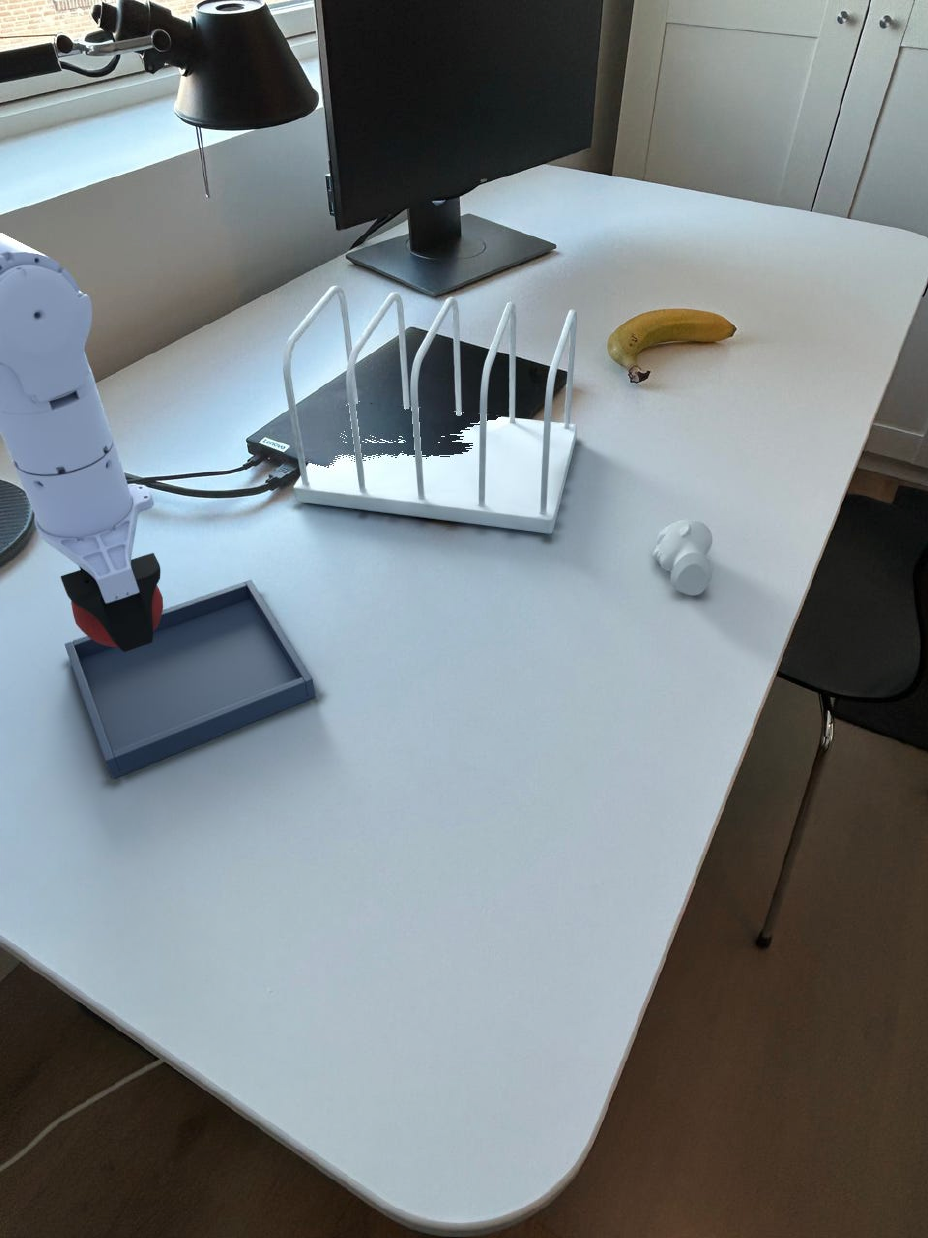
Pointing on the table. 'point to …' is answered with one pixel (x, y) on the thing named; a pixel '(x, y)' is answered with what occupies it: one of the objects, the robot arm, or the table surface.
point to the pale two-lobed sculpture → (685, 555)
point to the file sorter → (463, 483)
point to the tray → (189, 678)
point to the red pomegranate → (97, 630)
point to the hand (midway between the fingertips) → (125, 616)
